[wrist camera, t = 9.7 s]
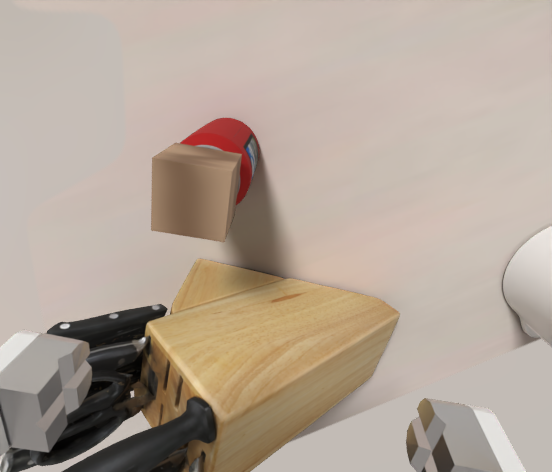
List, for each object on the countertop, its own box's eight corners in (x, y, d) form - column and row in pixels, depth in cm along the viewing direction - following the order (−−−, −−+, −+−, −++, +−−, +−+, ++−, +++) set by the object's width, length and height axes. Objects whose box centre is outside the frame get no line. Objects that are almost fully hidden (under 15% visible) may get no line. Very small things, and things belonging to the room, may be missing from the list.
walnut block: (241, 154, 27) (232, 171, 22) (234, 215, 29) (224, 242, 24) (175, 142, 27) (152, 157, 22) (173, 204, 29) (151, 230, 24)
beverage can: (239, 190, 41) (220, 235, 30) (187, 156, 39) (147, 190, 28) (272, 141, 38) (265, 170, 27) (218, 102, 37) (188, 117, 26)
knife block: (121, 235, 44) (-179, 533, 16) (395, 297, 46) (557, 652, 18) (117, 308, 48) (-120, 637, 20) (365, 361, 51) (457, 720, 23)
